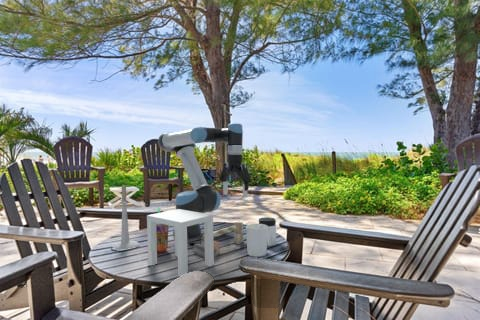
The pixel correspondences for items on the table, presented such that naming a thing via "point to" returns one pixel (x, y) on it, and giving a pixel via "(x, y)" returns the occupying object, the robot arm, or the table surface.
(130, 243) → the candlestick
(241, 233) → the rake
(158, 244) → the smoothie
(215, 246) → the block
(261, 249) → the candle holder
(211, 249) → the stool
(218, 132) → the robot arm
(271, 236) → the jar
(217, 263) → the table surface
